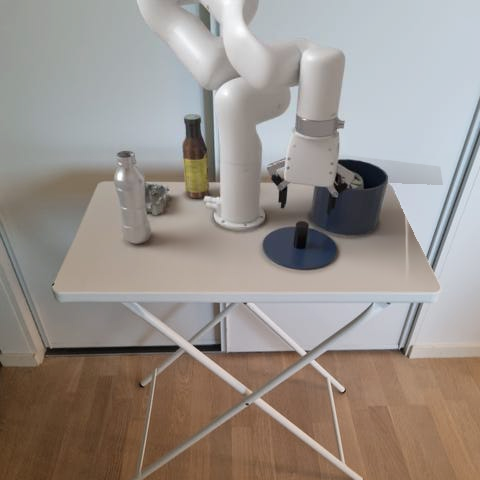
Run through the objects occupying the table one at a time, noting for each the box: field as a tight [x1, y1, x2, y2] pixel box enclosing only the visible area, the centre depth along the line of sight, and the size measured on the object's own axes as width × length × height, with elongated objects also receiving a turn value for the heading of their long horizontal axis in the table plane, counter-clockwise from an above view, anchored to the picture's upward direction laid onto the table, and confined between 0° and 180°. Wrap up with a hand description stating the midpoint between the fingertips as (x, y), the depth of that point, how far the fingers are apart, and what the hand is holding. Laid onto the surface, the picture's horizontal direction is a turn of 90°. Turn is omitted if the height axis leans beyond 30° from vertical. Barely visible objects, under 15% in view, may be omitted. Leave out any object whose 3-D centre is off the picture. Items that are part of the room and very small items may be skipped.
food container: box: [337, 171, 364, 189], centre depth 111 cm, size 12×6×10 cm, turn 168°
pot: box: [310, 158, 389, 236], centre depth 111 cm, size 16×16×12 cm
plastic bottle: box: [113, 150, 152, 244], centre depth 99 cm, size 6×7×20 cm
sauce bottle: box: [181, 113, 210, 199], centre depth 116 cm, size 7×6×20 cm
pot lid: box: [262, 220, 338, 271], centre depth 102 cm, size 17×17×7 cm
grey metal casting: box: [145, 182, 170, 216], centre depth 117 cm, size 11×8×4 cm
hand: (306, 208), depth 97 cm, fingers open, 9 cm apart
